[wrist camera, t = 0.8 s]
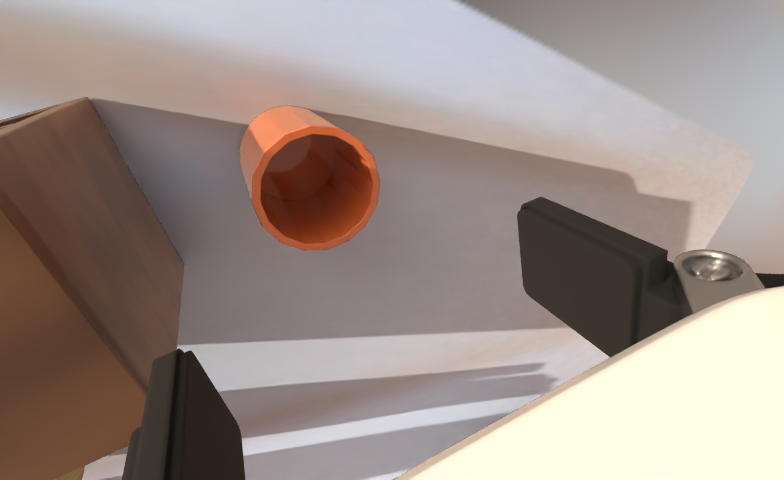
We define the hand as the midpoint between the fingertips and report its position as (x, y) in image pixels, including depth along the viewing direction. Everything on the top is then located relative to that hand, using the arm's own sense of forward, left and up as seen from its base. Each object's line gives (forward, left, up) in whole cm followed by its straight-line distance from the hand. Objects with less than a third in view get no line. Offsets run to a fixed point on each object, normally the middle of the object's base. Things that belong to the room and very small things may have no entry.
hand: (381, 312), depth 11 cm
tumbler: (0, +1, -19) cm, 19 cm away
